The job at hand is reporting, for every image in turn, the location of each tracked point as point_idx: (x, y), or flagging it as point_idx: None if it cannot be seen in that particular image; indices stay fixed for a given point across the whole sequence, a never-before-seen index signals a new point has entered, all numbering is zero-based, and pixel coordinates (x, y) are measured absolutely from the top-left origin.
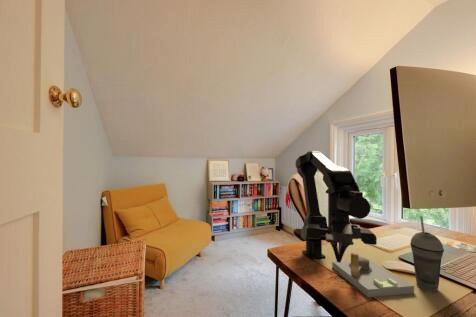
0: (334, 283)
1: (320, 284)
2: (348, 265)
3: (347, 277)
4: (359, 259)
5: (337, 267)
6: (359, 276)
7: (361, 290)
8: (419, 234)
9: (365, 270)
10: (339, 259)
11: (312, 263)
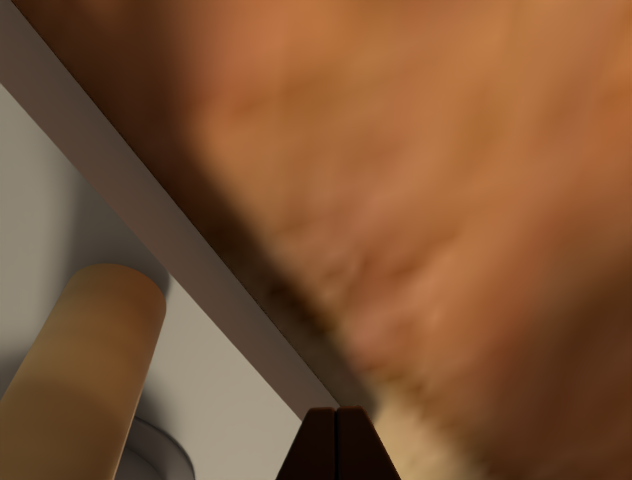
0: (394, 139)
1: (607, 37)
2: (199, 477)
3: (222, 288)
4: None
5: None
6: None
7: (51, 65)
8: None
9: None
10: (325, 457)
11: (567, 451)
